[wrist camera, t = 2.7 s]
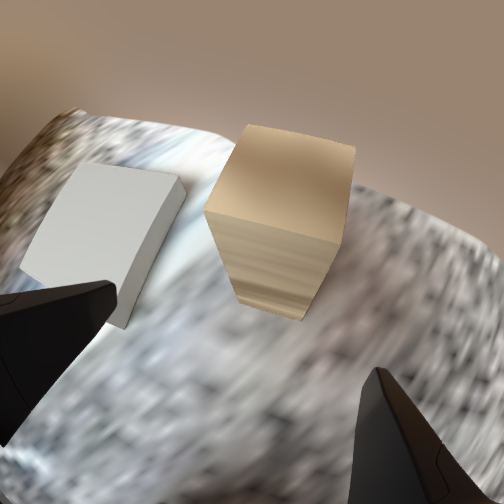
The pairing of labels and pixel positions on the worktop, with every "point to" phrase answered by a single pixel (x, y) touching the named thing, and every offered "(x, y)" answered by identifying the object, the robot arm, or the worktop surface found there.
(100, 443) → the worktop surface
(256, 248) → the birch block
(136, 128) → the worktop surface
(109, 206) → the light grey slab
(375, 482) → the robot arm
